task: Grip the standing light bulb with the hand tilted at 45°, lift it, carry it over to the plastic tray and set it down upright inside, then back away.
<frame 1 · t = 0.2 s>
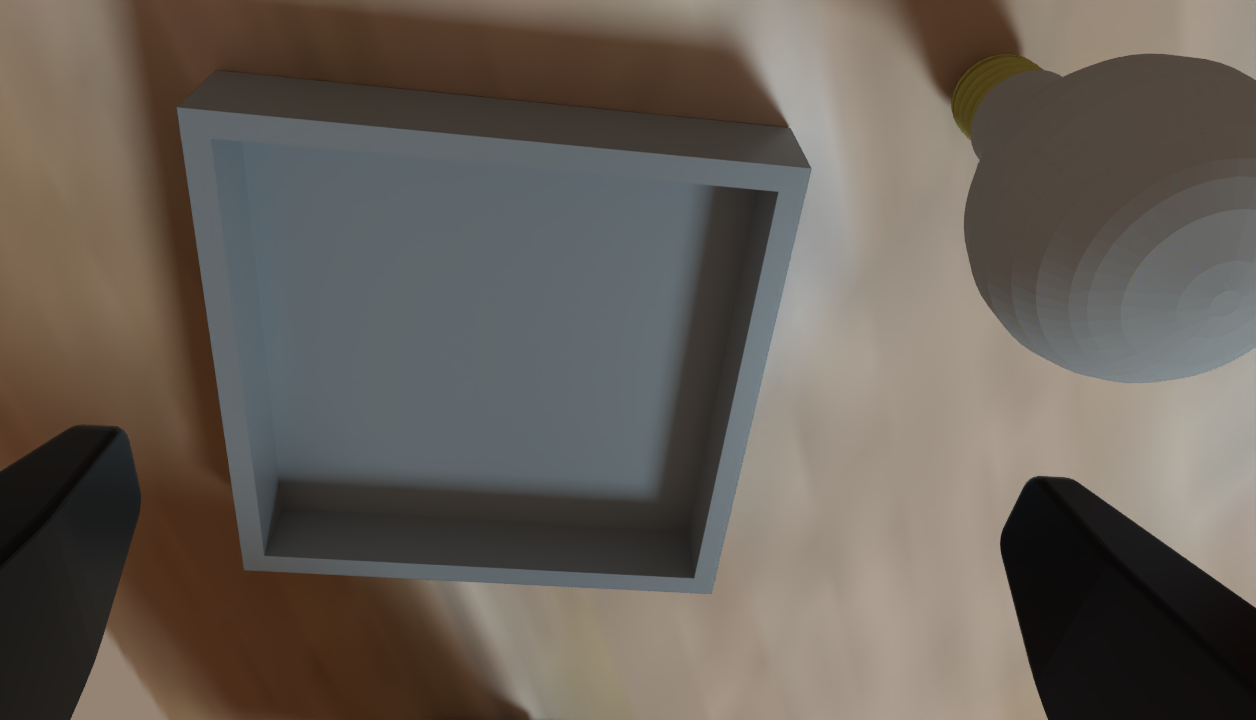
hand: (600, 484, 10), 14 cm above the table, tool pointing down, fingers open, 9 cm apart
light bulb: (982, 86, 23), on the table
tray: (499, 340, 26), on the table
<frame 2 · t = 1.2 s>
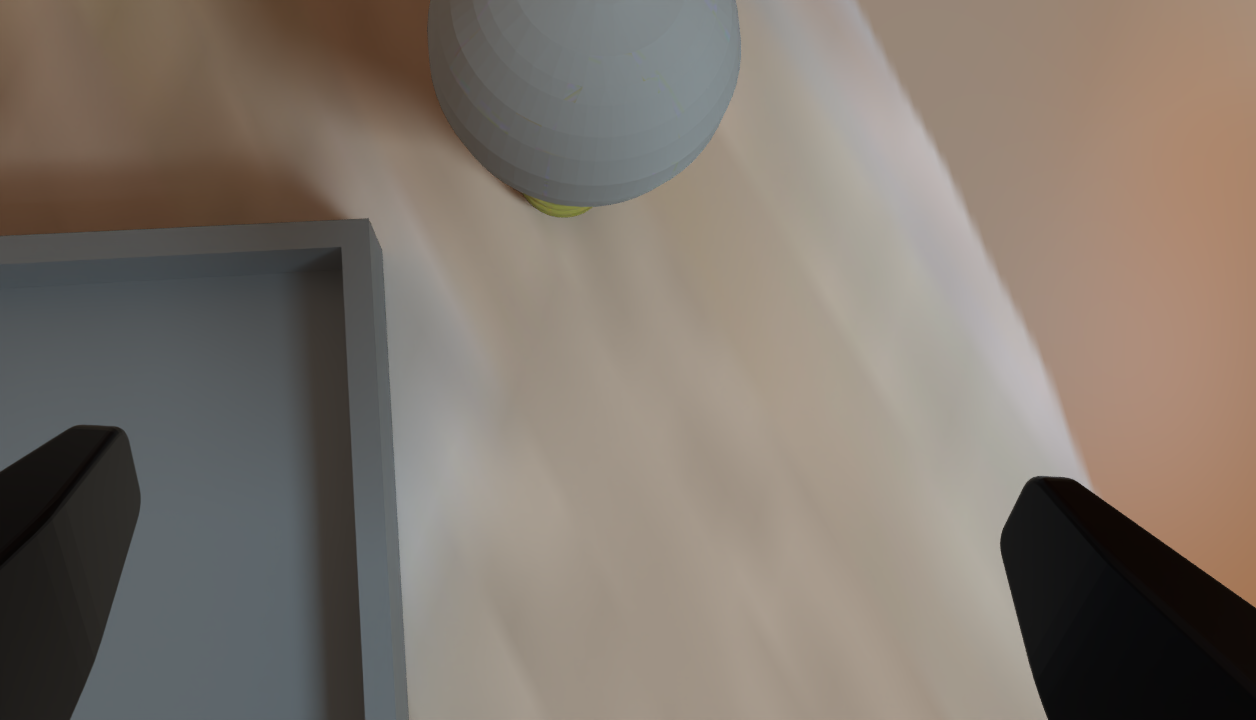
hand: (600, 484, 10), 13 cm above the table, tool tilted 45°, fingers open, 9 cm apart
light bulb: (558, 189, 24), on the table
tray: (92, 554, 21), on the table
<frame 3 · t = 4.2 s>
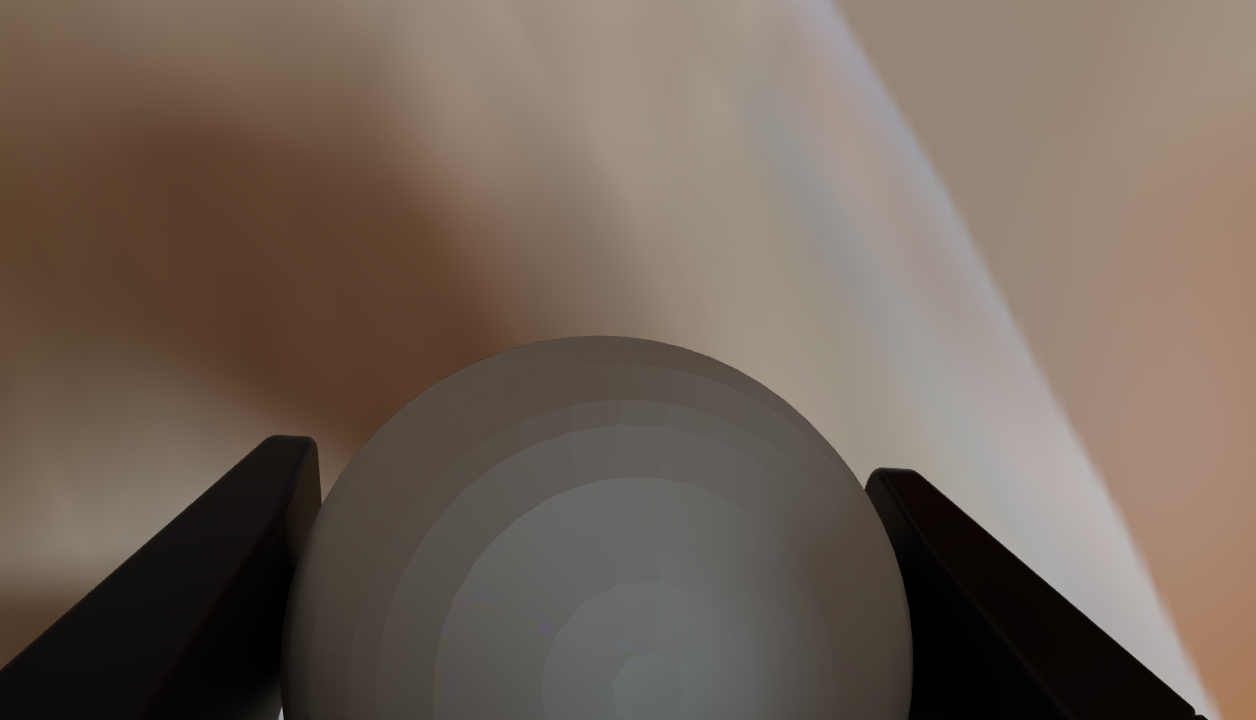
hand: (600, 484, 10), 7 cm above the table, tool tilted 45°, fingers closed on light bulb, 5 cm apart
light bulb: (551, 582, 16), on the table, touching gripper
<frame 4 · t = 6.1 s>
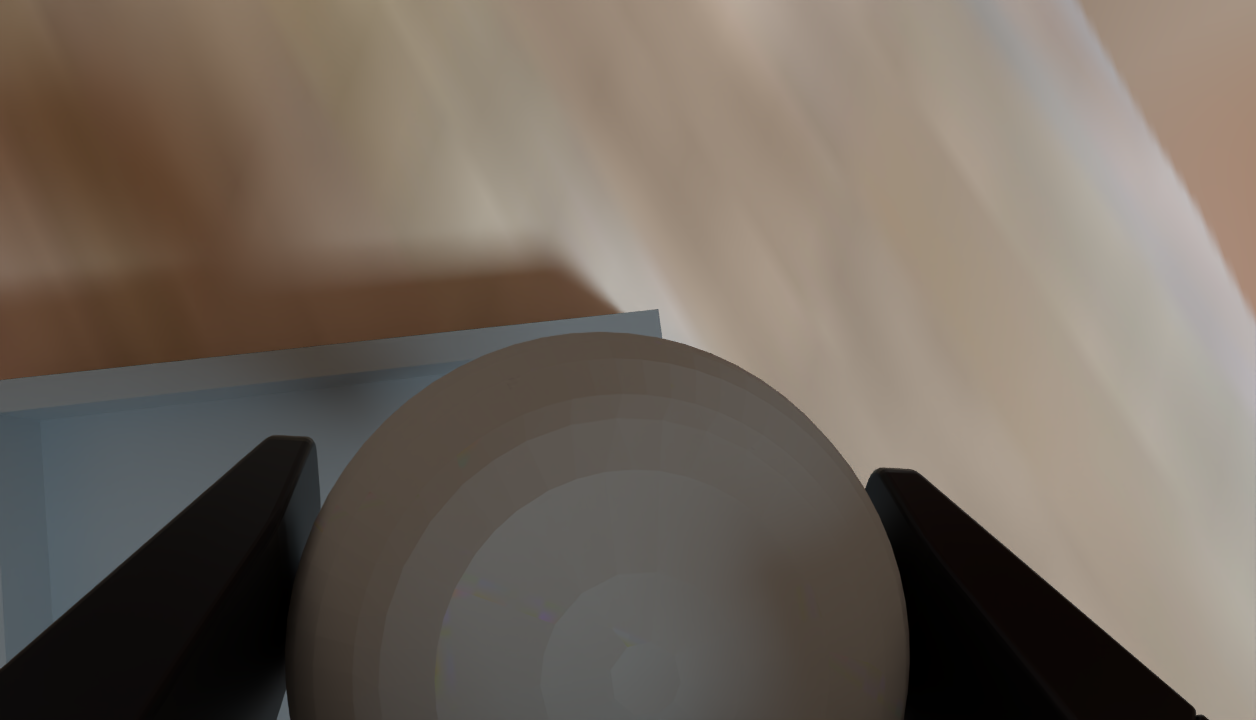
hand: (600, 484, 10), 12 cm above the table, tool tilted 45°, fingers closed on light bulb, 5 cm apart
light bulb: (554, 578, 16), point 5 cm above the table, touching gripper
tray: (375, 668, 20), on the table
when the fingers open (8 cm above the table, at t = 8.1 s): light bulb stays where it is, resting on tray.
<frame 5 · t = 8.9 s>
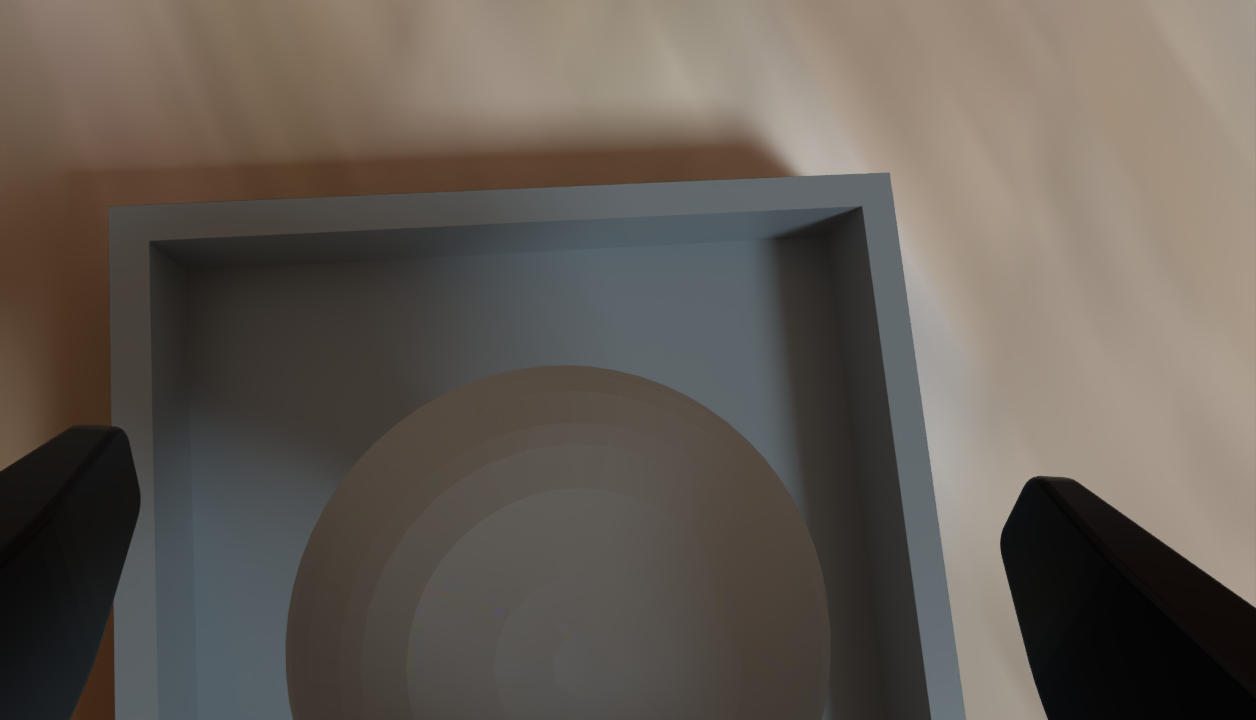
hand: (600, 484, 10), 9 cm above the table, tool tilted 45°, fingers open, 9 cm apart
light bulb: (544, 586, 17), resting on tray
tray: (546, 574, 18), on the table
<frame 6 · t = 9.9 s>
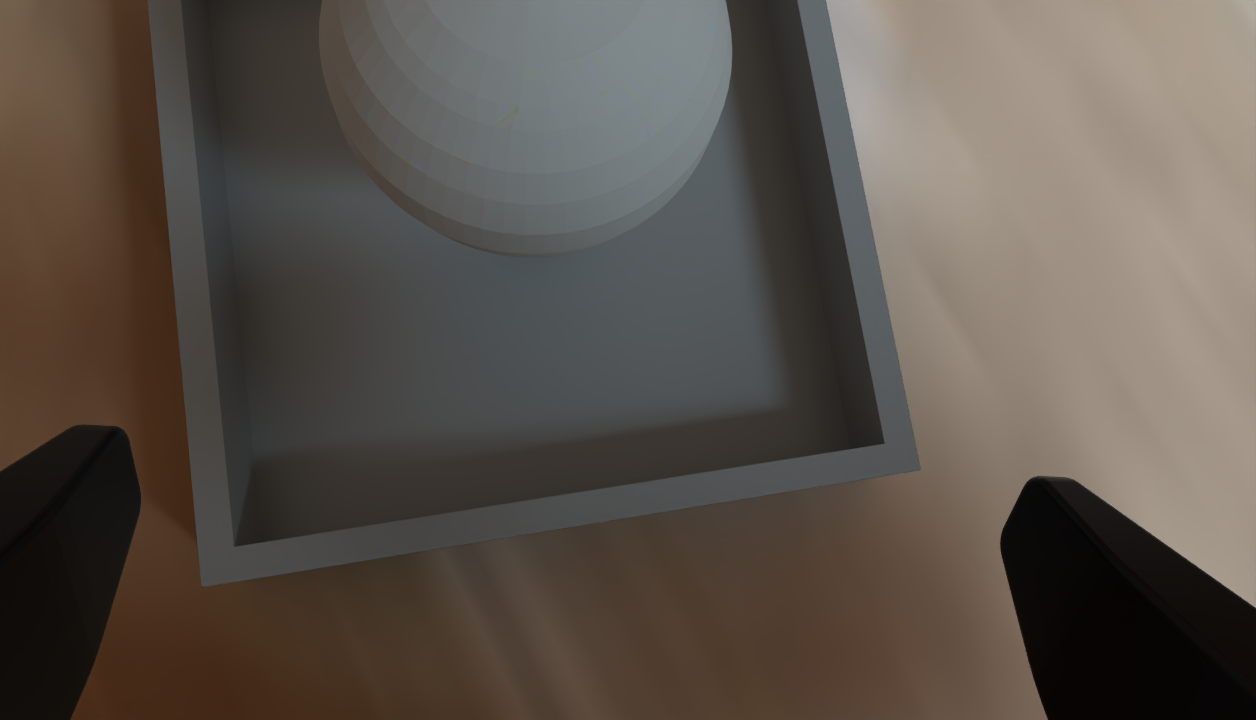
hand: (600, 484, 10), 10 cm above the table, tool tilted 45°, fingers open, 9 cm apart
light bulb: (524, 222, 20), resting on tray
tray: (526, 220, 21), on the table
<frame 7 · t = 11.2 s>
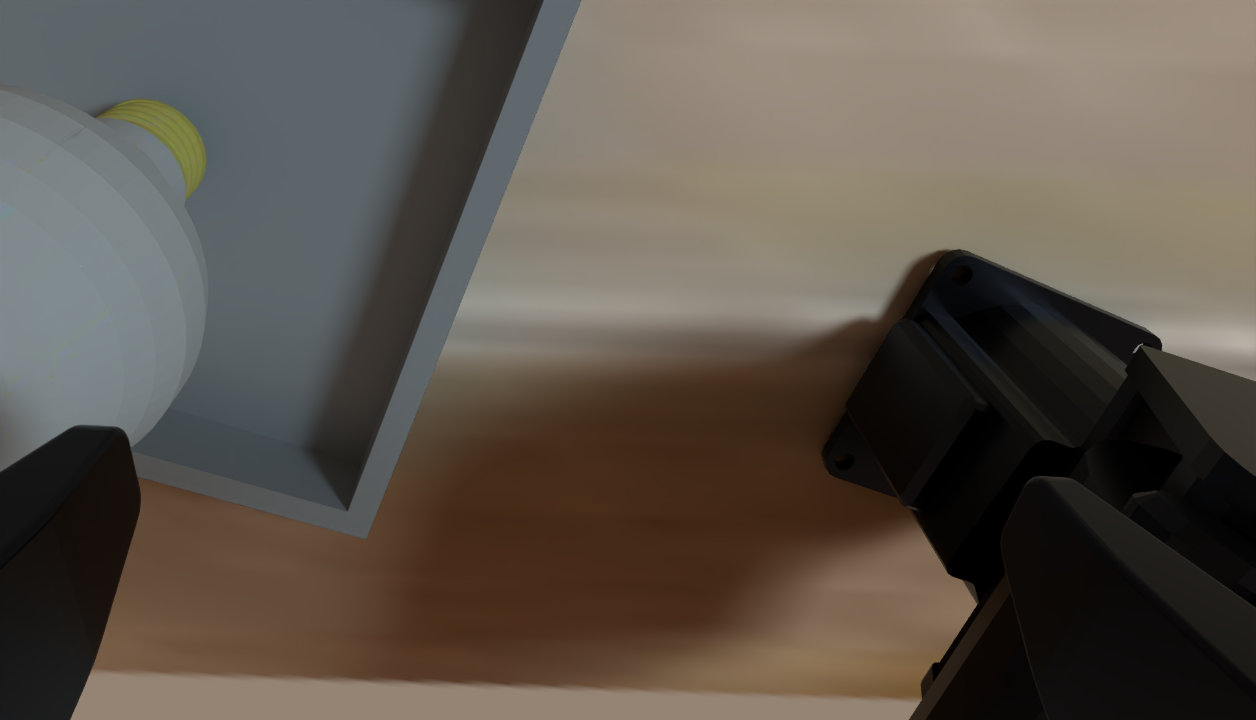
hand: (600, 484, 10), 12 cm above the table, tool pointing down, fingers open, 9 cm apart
light bulb: (164, 143, 19), resting on tray
tray: (163, 131, 20), on the table
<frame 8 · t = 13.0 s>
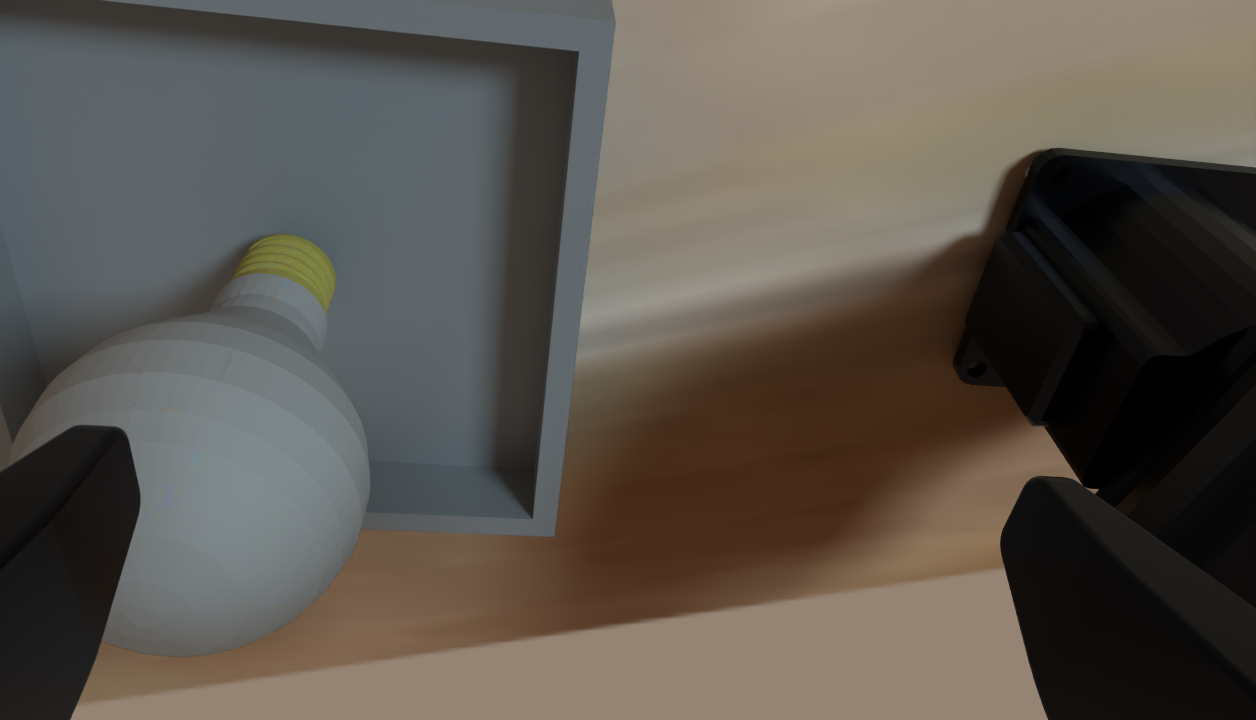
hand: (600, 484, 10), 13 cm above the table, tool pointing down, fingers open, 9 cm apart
light bulb: (297, 258, 22), resting on tray
tray: (293, 246, 22), on the table
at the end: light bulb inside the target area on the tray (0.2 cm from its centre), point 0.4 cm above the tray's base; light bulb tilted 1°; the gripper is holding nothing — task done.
